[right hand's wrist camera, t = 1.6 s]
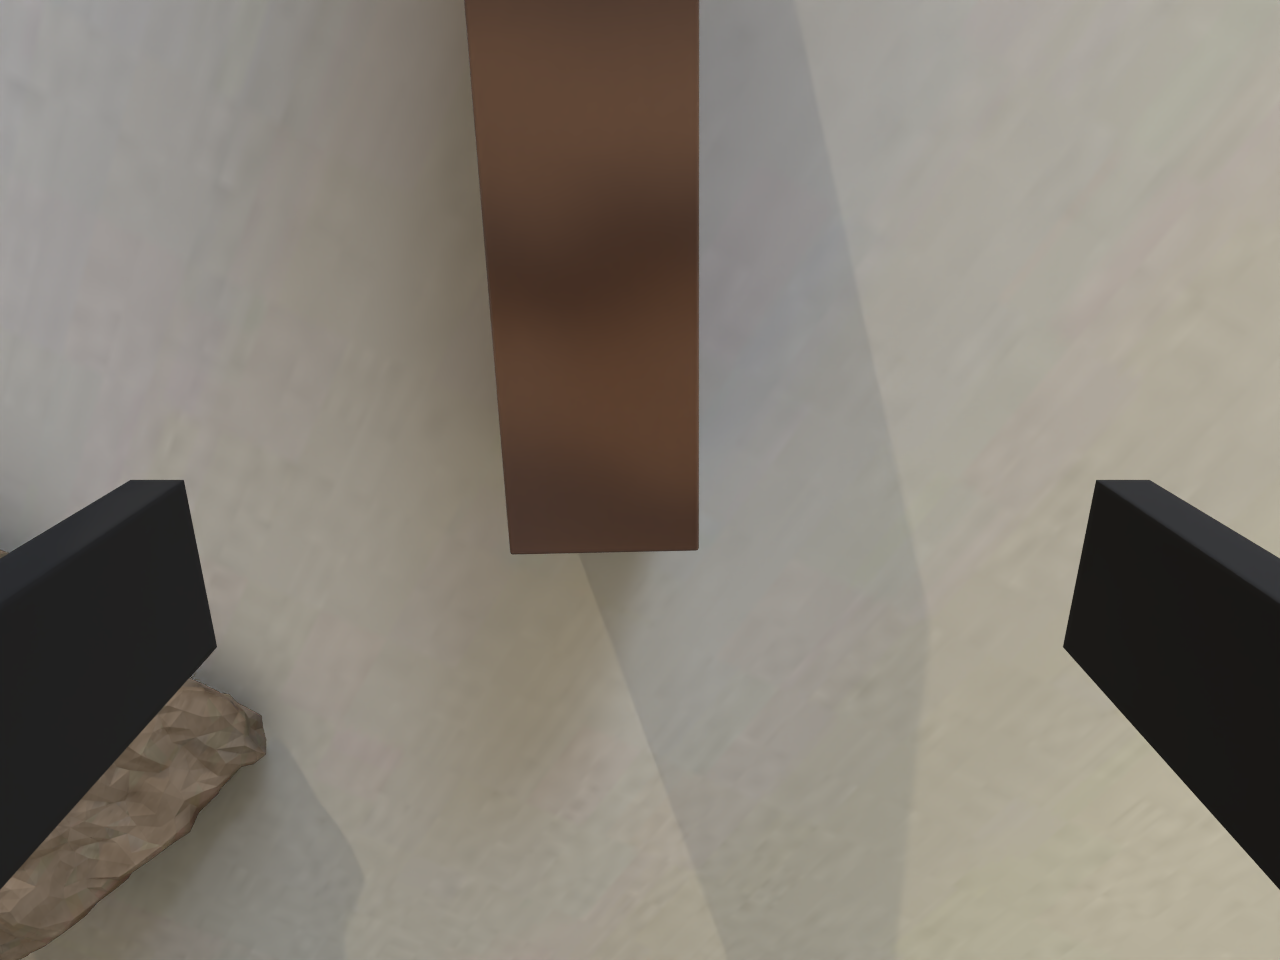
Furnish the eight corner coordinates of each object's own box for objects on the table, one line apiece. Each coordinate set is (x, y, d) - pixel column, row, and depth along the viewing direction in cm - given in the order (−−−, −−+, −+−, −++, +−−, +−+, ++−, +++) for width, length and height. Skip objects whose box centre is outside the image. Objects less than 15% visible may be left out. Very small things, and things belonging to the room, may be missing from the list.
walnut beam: (683, 456, 30) (699, 551, 22) (542, 459, 30) (509, 555, 22) (678, -537, 21) (700, -939, 13) (477, -531, 21) (386, -928, 13)
